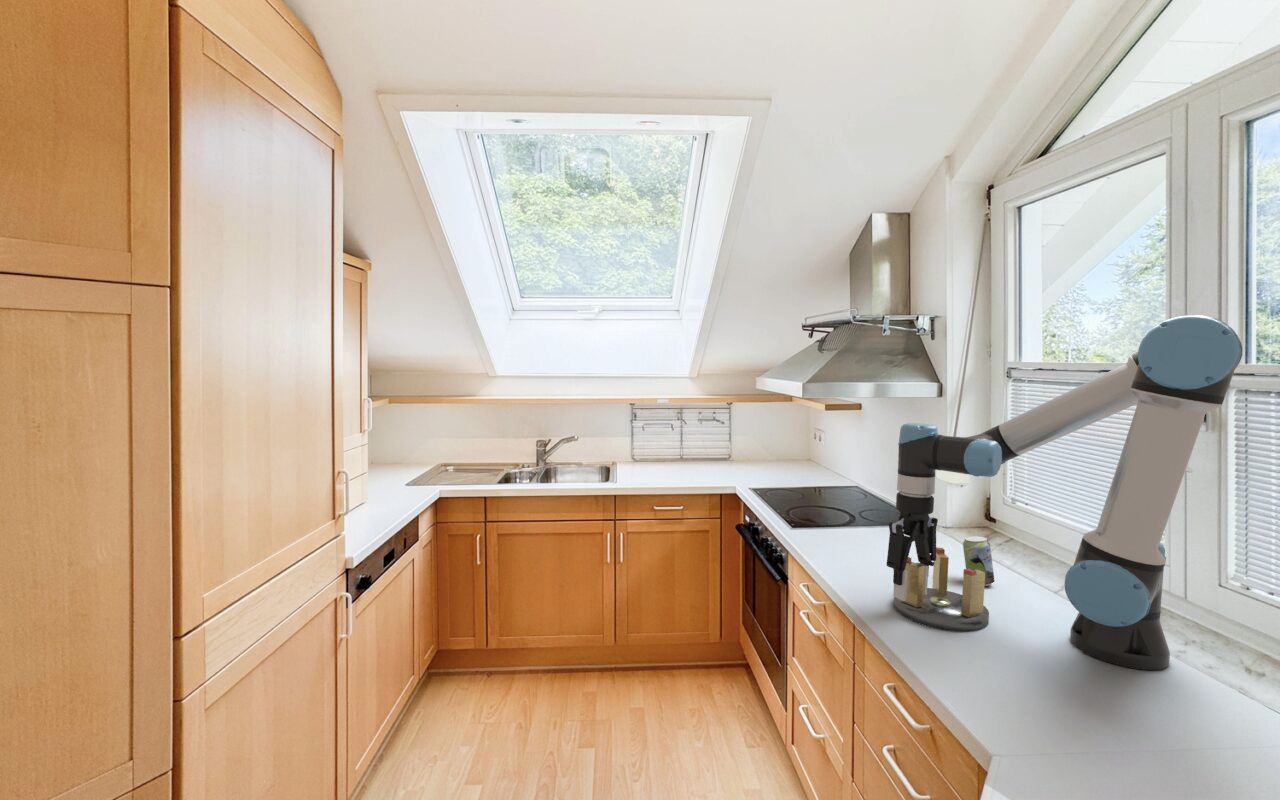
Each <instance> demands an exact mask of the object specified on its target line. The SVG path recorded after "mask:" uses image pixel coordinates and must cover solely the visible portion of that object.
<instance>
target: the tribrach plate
mask: <svg viewBox="0 0 1280 800" xmlns="http://www.w3.org/2000/svg"><path fill="white" fill-rule="evenodd" d="M893 609H894V610H895V611H896V612H897V613H898V614H899V615H901V616H902V617H904V618H906V619H907V618H908V620H909V619H910V621H911V620H912V622H914V623H916V622H917V624H919V623H920V624H919V625H922V624H923V625H922V626H925V625H926V627H928V626H929V628H932V627H933V629H936V628H937V629H938V630H943V631H948V632H949V631H950V632H960V633H961V632H963V633H965V632H966V633H968V632H977V631H980V630H981V631H982V630H983V629H985V628H987V627H988V625H989V624H990V623H989V621H990V619H989V618H990V611H989V609H988V608H987V607H986V606H985V605H984V604H983V613H982V614H979V615H976V616H973V617H970V618H969V617H967V616H964V615H962V614H961V610H962V594H960V593H957V592H955V591H949V590H947V596H941V595H938V594H937V593H936V592H935V590H934V589H933V588H932V587H927V595H923V599H922V606H920V607H915V606H912V605H910V604H908V603H905V602H903V601H900V600H898V598H896V597H893ZM937 629H936V630H937Z"/></svg>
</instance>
